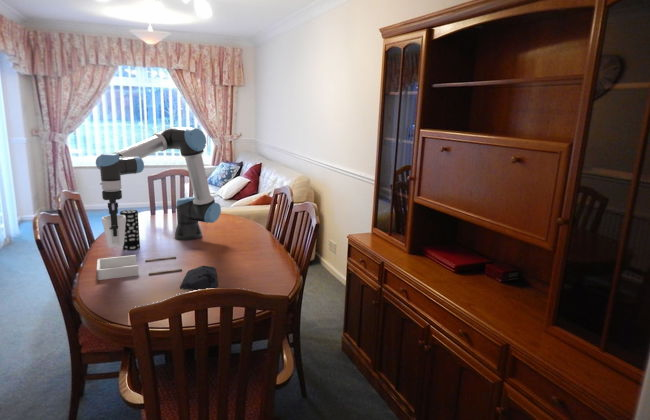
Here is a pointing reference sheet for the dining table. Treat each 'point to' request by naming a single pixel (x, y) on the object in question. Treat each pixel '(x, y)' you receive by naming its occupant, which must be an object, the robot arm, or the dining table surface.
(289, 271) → the dining table surface
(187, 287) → the dark slate chunk
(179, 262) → the dining table surface
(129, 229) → the white-spotted black cylinder
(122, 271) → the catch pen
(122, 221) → the foam cup
